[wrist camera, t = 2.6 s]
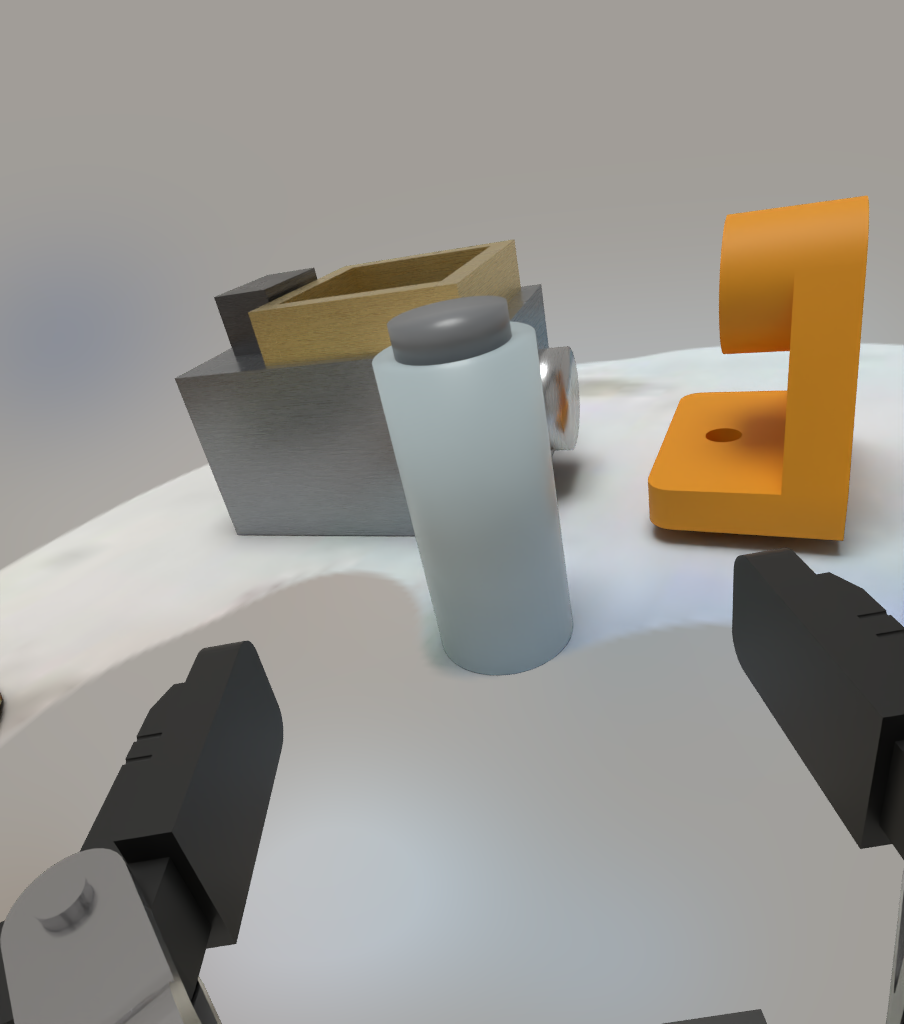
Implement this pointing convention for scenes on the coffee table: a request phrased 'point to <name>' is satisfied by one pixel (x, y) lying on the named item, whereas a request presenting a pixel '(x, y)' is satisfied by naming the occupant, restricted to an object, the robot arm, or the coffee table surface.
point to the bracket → (775, 414)
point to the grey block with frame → (340, 388)
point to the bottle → (478, 480)
